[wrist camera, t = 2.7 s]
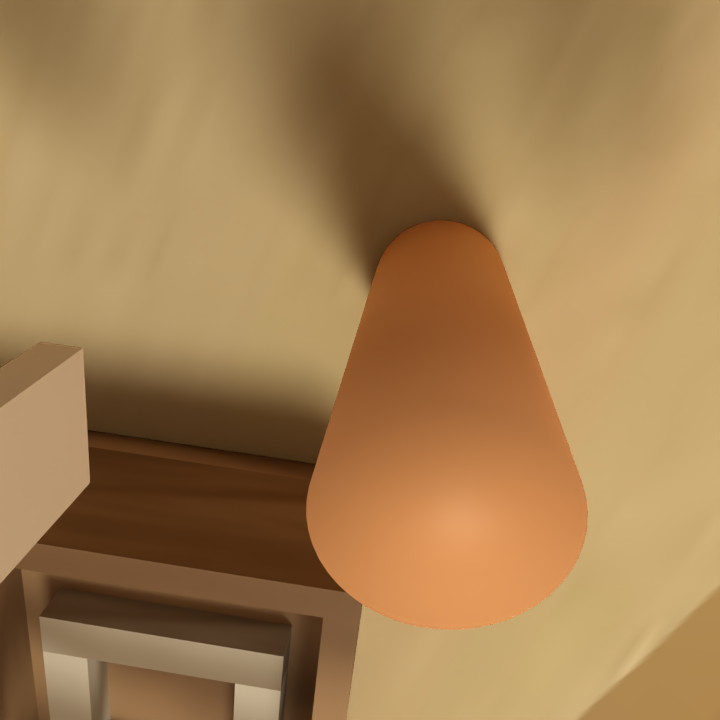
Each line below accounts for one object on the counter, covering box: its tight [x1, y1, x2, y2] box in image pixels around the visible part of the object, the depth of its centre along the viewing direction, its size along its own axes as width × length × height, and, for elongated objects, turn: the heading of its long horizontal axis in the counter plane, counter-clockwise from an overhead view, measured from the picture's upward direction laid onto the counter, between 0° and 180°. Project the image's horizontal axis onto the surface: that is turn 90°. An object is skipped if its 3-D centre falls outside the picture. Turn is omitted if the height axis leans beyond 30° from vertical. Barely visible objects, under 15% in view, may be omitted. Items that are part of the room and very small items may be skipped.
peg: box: [306, 220, 588, 629], centre depth 15 cm, size 4×4×12 cm
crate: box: [0, 430, 362, 720], centre depth 25 cm, size 18×14×6 cm
